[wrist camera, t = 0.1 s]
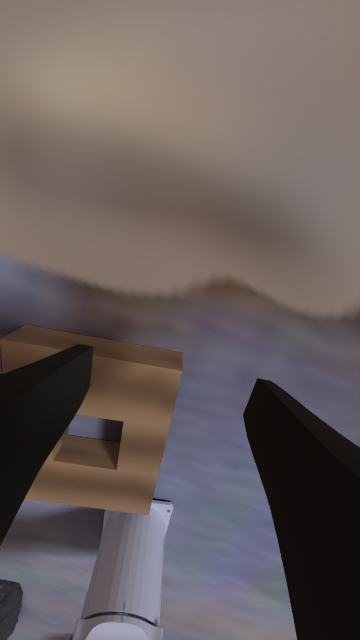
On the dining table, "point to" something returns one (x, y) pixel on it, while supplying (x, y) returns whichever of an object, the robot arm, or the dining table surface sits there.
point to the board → (109, 403)
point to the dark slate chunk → (9, 607)
